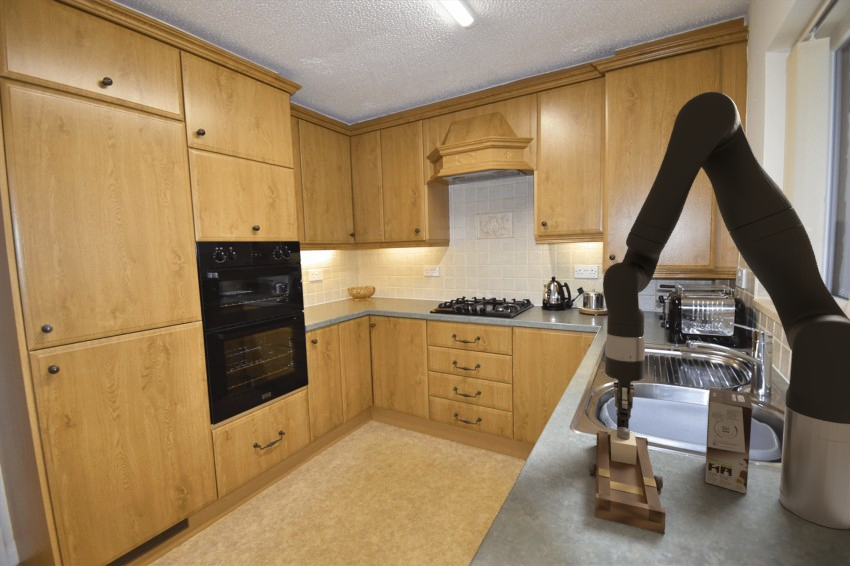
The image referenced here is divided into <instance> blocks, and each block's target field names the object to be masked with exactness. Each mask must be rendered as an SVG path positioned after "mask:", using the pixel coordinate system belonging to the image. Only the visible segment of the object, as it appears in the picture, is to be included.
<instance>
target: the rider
mask: <svg viewBox="0 0 850 566" xmlns="http://www.w3.org/2000/svg"><path fill="white" fill-rule="evenodd" d="M610 432H611V439H610V451H611V461H617V462H622V463H627V464H633V465H636V452H637V445H636V439H635V436H636V435H635V432H633V431H631V430H630V429H629V428H625V427H618V428H617V427H616V429H614V428H610Z"/></svg>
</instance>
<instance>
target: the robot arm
mask: <svg viewBox="0 0 850 566" xmlns="http://www.w3.org/2000/svg"><path fill="white" fill-rule="evenodd" d="M701 169H703V171H704V173H705V175H706V176H707V178H708V179H709V182H710V184H711V187H712V189H713V193H714V196H715V199H716V204H717V206H718V210H719V213H720V215H721V218H722V220H723V223H724V225H725V228H726V230H727V232H728V234H729V236H730V237H731V239H732V241H733V243H734V244H735V246H736V249H737V251H738V252H739V254H740V255H741V257H742V258H743V260H744V261H745V263H746V265H747V267H748V268H749V269H750V270H751V272H752V273H753V275H754V276H755V277H756V279H757V280H758V281H759V283H760V284H761V286H762V287H763V288H764V290H765V292H767V294H768V296H769V297H770V299H771V302H772V305H773V306H774V309H775V311H776V314H777V315H778V318H779V321H780V323H781V327H782V329H783V331H784V334H785V338H786V342H787V344H788V346H789V349H790V351H791V361H790V375H789V382H788V388H787V389H786V392H785V400H784V401H785V404H784V416H783V417H784V419H783V432H782V433H783V435H782V448H781V449H782V450H781V451H782V452H781V464H780V480H779V493H778V494H779V495H778V496H779V497H778V498H779V499H778V500H779V503H781V505H782V506H783V507H784V508H785V509H786V510H787V511H790V512H791V513H793V514H795V516H798V517H799V518H802V519H804V520H806V521H808V522H812V523H814V524H817V525H820V526H823V527H826V528H832V529H839V530H849V529H850V318H849V317H848V315H847V314H846V313H845V311H843V309H842V308H841V306H840V305H839V304H838V303H837V300H836V299H835V298H834V296H833V295H832V294H831V292H830V291H829V289H828V287H827V286H826V284H825V282H824V279H823V278H822V276H821V273H820V272H821V271H820V270H819V265H818V261H817V259H816V254H815V252H814V251H815V250H814V249H813V245H812V241H811V239H810V237H809V235H808V233H807V230H806V227H805V226H804V224H803V222H802V220H801V218H800V216H799V215H798V213H797V211H796V210H795V208H794V207H793V204H792V202H790V200H789V198H788V197H787V196H786V194H785V192H784V191H783V189H781V187H780V186H779V184H778V183H777V181H775V180H774V179H773V177H772V176H771V175H770V174H769V173H768V172H767V171H766V169H765V168H764V167H763V166H762V164H761V163H760V162H759V161H758V158H757V157H756V156H755V153H754V152H753V150H752V146H751V144H750V142H749V140H748V137H747V135H746V132H745V130H744V126H743V124H742V120H741V116H740V112H739V109H738V107H737V105H736V103H735V101H734V100H733V99H732V98H731V97H730V96H729V95H727V94H725V93H723V92H720V91H719V92H718V91H707V92H703V93H700V94H698V95H696V96H693V97H692V98H691V99H690V100H688V101H686V102H685V104H684V105H683V106H682V107H681V108H680V110H679V111H678V113H677V115H676V118H675V121H674V124H673V127H672V130H671V134H670V138H669V141H668V143H667V147H666V150H665V154H664V155H663V159H662V162H661V164H660V167H659V169H658V171H657V175H656V177H655V179H654V182H653V183H652V185H651V188H650V190H649V193H648V194H647V197H646V198H645V201H644V203H643V204H642V206H641V208H640V210H639V212H638V214H637V216H636V218H635V220H634V222H633V224H632V226H631V227H630V230H629V233H628V234H627V237H626V240H625V245H626V247H627V248H626V252H625V255H624V257H623V259H622V262H615V263H613V264H612V265H610V266H609V267H608V268H607V269H606V270H605V272H604V275H603V280H602V281H603V282H602V292H603V296H604V297H603V298H604V302H605V307H606V311H607V319H606V320H607V327H606V328H607V329H606V337H605V338H606V339H605V347H604V348H605V352H604V353H605V354H604V361H605V362H604V374H605V375H606V376H608V378H610V379H613V380H614V379H615V380H617V381H613V383H612V384H613V394H614V398H613V399H614V401H613V402H614V406H615V408H616V409H615V415H616V429H617V428H618V427H625V428H628V429H629V423H630V421H629V420H631V418H632V416H631V413H632V409H633V405H634V404H633V402H634V397H635V387H634V383H631V382H638V381H639V382H640V381H641V380H643V379H644V378H645V355H646V353H645V352H646V351H645V350H646V346H645V345H646V344H645V313H644V311H643V310H642V309H641V308H640V305H639V304H640V303H639V293H641V292H643V291H644V290H645V289H647V287H648V285H649V284H650V283H651V281H652V279H653V277H654V274H655V272H656V269H657V267H658V264H659V261H660V257H661V254H662V252H663V250H664V249H665V247H666V246H667V245H666V244H667V243H668V241H669V239H670V238H671V236H672V234H673V232H674V230H675V228H676V226H677V224H678V221H679V220H680V218H681V214H682V213H683V210H684V208H685V205H686V202H687V199H688V197H689V194H690V191H691V189H692V187H693V184H694V182H695V180H696V178H697V176H698V174H699V172H700V171H701Z"/></svg>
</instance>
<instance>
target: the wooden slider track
mask: <svg viewBox="0 0 850 566" xmlns="http://www.w3.org/2000/svg"><path fill="white" fill-rule="evenodd" d="M610 439H611V431H604V430H598V429H596V445H595V446H596V451H595V452H596V454H595V455H596V456H595V458H596V459H595V463H591V462H589V466H588V467H589V468H588V469H589V471H588V472H589V473H588V474H589V475H594V476H595V499H594V500H595V501H594V502H595V503H594V504H595V505H594V506H595V509H594V510H595V511H594V517H595V518H598V519H602V520H606V521H610V522H615V523H619V524H623V525H626V526H631V527H635V528H640V529H642V530H643V529H644V530H647V531H651V532H656V533H659V534H664V535H665V534H666V517H667V516H666V510H665V509H666V508H665V507H662V505H661V502H660V497H659V492H658V489H663V488H664V487H663V486H664V483H663V482H664V481H663V476H660V475H656V474H655V475H654V471H653V466H652V462H651V457H650V454H649V450H648V444H649V439H648V438H647V437H642V436H637V435H635V439H636V445H637V452H636V465H633V464H627V463H622V462H617V461H611V451H610Z"/></svg>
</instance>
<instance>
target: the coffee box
mask: <svg viewBox="0 0 850 566" xmlns="http://www.w3.org/2000/svg"><path fill="white" fill-rule="evenodd" d="M708 393H709V394H708V408H707V409H708V410H707V425H706V428H707V429H706V446H705V447H706V448H705V450H706V452H705V476H704V477H705V478H704V480H705V483H707V484H711V485H713V486H716V487H717V486H718V487H721V488H724V489H728V490H731V491H735V492H737V493H741V494H747V491H748V478H749V477H748V476H749V463H750V447H751V436H752V435H751V431H752V416H753V409H754V408H753V405H752V402H751V398H750V394H749V393H745V392H741V391H734V390H727V389H726V390H725V389H718V388H714V387H713V388H711V387H709V392H708Z"/></svg>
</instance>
